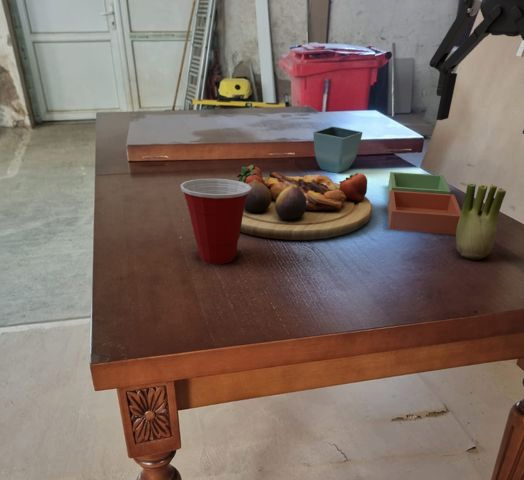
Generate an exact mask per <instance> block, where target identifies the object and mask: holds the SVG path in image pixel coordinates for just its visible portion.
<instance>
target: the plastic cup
mask: <svg viewBox="0 0 524 480" xmlns="http://www.w3.org/2000/svg"><path fill="white" fill-rule="evenodd" d="M179 186H180V189H181V192H183V194H184V199H185V202H186V204H187V209H188V213H189V217H190V223H191V227H192V231H193V235H194V239H195V242H196V246H197V250H198V251H197V252H198V255H199V257H200V260H202V262H204V263H208V264H210V265H211V264H213V265H222V264H227V263H230V262H232V261H233V260H234V259H235V258H236V255H237V252H238V251H237V250H238V244H239V240H240V235H241V232H240V229H241V224H242V218H243V212H244V207H245V203H246V200H247V196H248V194H249V192H250V191H251V188H252V187H251V186H250V185H249V184H246V183H243V182H240V181H239V180H234V179H226V178H197V179H191V180H187V181H183V182H182V183H181V184H180V185H179Z"/></svg>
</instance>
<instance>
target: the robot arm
mask: <svg viewBox="0 0 524 480" xmlns="http://www.w3.org/2000/svg"><path fill="white" fill-rule="evenodd" d="M479 10H480V13H481V16H482V18H483V19H482V20H481V21H480V22H479V24H478V25H476V27H474V29H473V31H472V32H471V34H469V36H468V37H467V38H466V39H464V41H463V42H462V43H461V44H460V45H459V46H458V47H457V48H456V49H455V50H454V51H453V49H454V47H455V46H456V44H457V43H458V41H459V40H460V39H461V37H462V35H463V33H464V32H465V30H466V28H467V27H468V25H469V23H470V22H471V20H472V19H473V16H476V14H477V13H478V12H479ZM489 35H491V36H507V37H519V36H520V37H521V39H522V41H524V0H461V3H460V7H459V10H458V13H457V16H456V17H455V19H454V20H453V22H452V24H451V26H450V27H449V29H448V30H447V33H446V34H445V36H444V38H443V39H442V41H441V42H440V43H439V46H438V48H437V49H436V51H435V52H434V54H433V55H432V57H431V59H430V61H429V67H430V68H434V69H435V70H437V71H438V73H439V76H438V81H437V87H436V96H437V97H438V96H439V97H440V99H439V104H438V110H437V114H436V121H443V120H446V119H449V117H450V112H451V107H452V103H453V97H454V92H455V87H456V81H457V78H458V73H457V72H455V69H456V68H457V67H458V66H459V65H460V63H462V61H463V60H464V59H466V57H467V56H469V55H470V54H471V52H472V51H473V50H475V48H476V47H477V46H478V45H480V43H481V42H482V41H483V40H484V39H485V38H487V37H488V36H489ZM452 51H453V53H452ZM522 135H524V129H522Z"/></svg>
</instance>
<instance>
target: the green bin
mask: <svg viewBox="0 0 524 480" xmlns="http://www.w3.org/2000/svg"><path fill="white" fill-rule="evenodd" d="M390 190H394V191H408V192H423V193H437V194H451V190H450V187H449V184H448V182H447V180H446V177H445V175H444V174H429V173H428V174H427V173H413V172H395V171H390V172H389V178H388V185H387V191H388V195H389V193H390Z"/></svg>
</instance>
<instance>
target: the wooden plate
mask: <svg viewBox="0 0 524 480" xmlns="http://www.w3.org/2000/svg"><path fill="white" fill-rule="evenodd" d="M240 169H241V172H239V173H238V175H237V176H236V178H237V179H238V181H240V182H243V183H246V184H249V185H250V186H251V187H252V188H251V191H250V192H249V194H248V196H247V200H246V203H245V207H244V212H243V218H242V224H241V229H240V233H243V234H247V235H250V236H255V237H261V238H267V239H277V240H278V239H279V240H287V241H289V240H290V241H307V240H321V239H327V238H333V237H338V236H342V235H346V234H349V233H352V232H354V231H356V230H358V229H360V228H362V227H363V226H365V225H366V224H367V223H368V222H369V221H370V219H371V217H372V215H373V210H374V209H373V204H372V203H371V201H370V199H369V198H368V197H367V196H366V194H367V191H368V178H367V176H366V175H365V174H364V173H358V172H356V173H355V174H349V176H347V177H345V179H343V180H341V181H339V183H338V182H334V181H333V180H332V179H331V178H330V177H329V176H328V175H322V174H320V173H318V174H307V175H304V176H299V175H297V176H296V175H295V176H291V175H284V174H281V173H279V172H277V171H270V172H269V174H268V175H269V176H266V177H263V172H262V170H261V169H260V168H259V166H258V167H257V164H253V163H252V164H250V165H248V166H241V168H240Z"/></svg>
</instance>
